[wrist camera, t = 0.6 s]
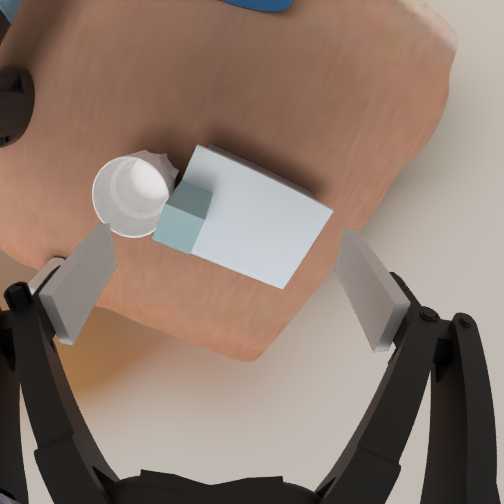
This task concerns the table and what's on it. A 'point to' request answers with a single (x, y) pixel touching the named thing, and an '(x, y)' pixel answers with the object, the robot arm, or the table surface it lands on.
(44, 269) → the beverage can
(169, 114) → the table surface
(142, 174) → the cup
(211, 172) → the pale blue stand
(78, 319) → the robot arm
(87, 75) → the table surface
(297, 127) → the table surface
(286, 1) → the alarm clock
